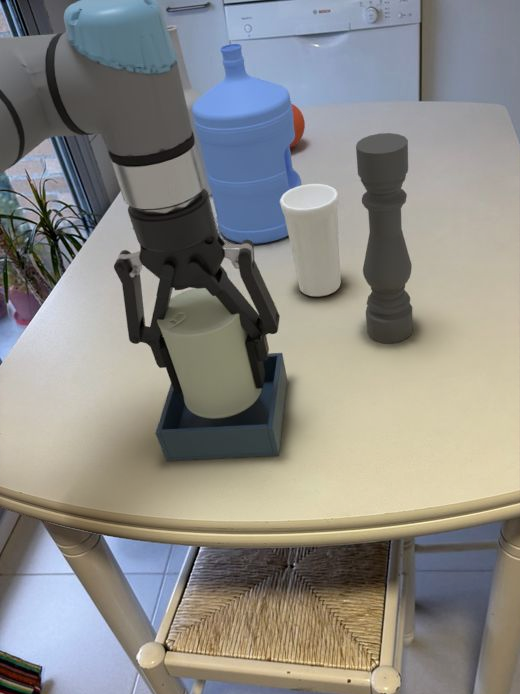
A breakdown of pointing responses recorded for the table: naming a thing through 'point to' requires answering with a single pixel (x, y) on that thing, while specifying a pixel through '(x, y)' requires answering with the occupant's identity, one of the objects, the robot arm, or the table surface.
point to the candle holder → (385, 236)
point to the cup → (314, 236)
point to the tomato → (297, 125)
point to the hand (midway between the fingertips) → (220, 383)
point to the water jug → (247, 151)
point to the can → (209, 355)
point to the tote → (227, 424)
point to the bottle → (187, 94)
